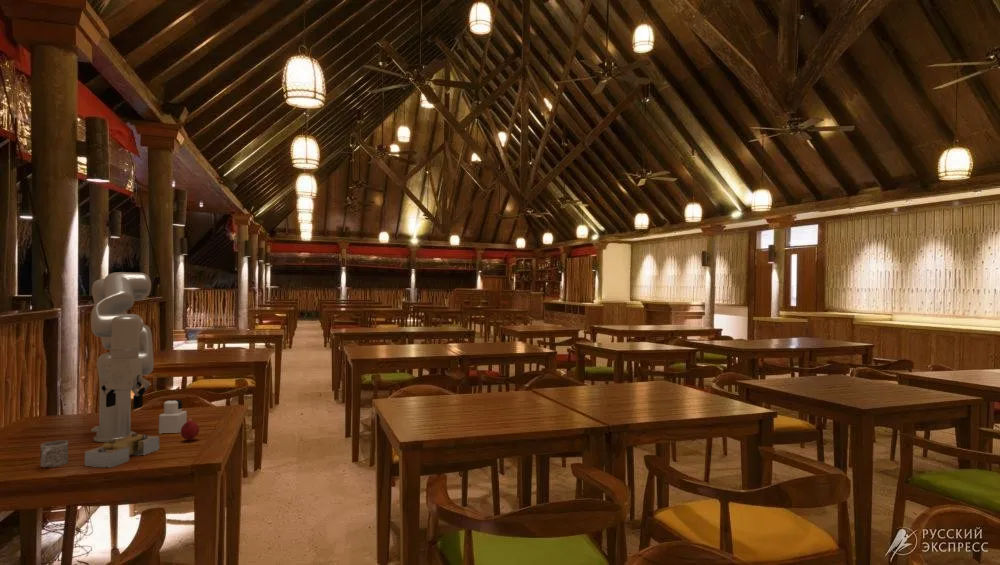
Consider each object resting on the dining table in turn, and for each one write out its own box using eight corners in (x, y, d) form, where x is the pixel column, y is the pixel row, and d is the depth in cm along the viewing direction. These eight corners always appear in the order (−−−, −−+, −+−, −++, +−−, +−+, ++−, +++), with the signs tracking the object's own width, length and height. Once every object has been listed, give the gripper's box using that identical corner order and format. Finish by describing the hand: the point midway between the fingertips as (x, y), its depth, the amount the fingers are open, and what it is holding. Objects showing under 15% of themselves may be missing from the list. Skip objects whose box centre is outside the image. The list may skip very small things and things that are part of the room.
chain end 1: (84, 466, 174) (84, 449, 174) (103, 459, 181) (103, 443, 181) (111, 467, 172) (111, 450, 172) (129, 460, 179) (129, 444, 179)
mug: (47, 462, 178) (48, 441, 178) (72, 460, 180) (72, 439, 180) (29, 472, 168) (29, 449, 169) (55, 470, 170) (55, 448, 170)
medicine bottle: (167, 429, 221) (168, 398, 221) (186, 429, 222) (187, 398, 222) (158, 434, 214) (158, 402, 214) (178, 433, 215) (178, 401, 215)
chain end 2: (118, 454, 186) (118, 439, 187) (135, 448, 193) (135, 433, 194) (143, 455, 185) (143, 439, 185) (159, 449, 192) (159, 434, 192)
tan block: (102, 459, 177) (103, 441, 177) (132, 449, 189) (133, 432, 189) (112, 460, 177) (113, 442, 177) (142, 449, 189) (142, 432, 189)
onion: (190, 443, 200) (191, 420, 200) (176, 442, 201) (176, 420, 202) (202, 439, 206) (202, 417, 206) (188, 438, 207) (189, 416, 207)
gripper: (91, 354, 181) (90, 408, 181) (140, 356, 179) (139, 410, 179) (110, 351, 189) (109, 403, 189) (157, 353, 186) (157, 405, 186)
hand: (124, 407), depth 184 cm, fingers open, 9 cm apart
